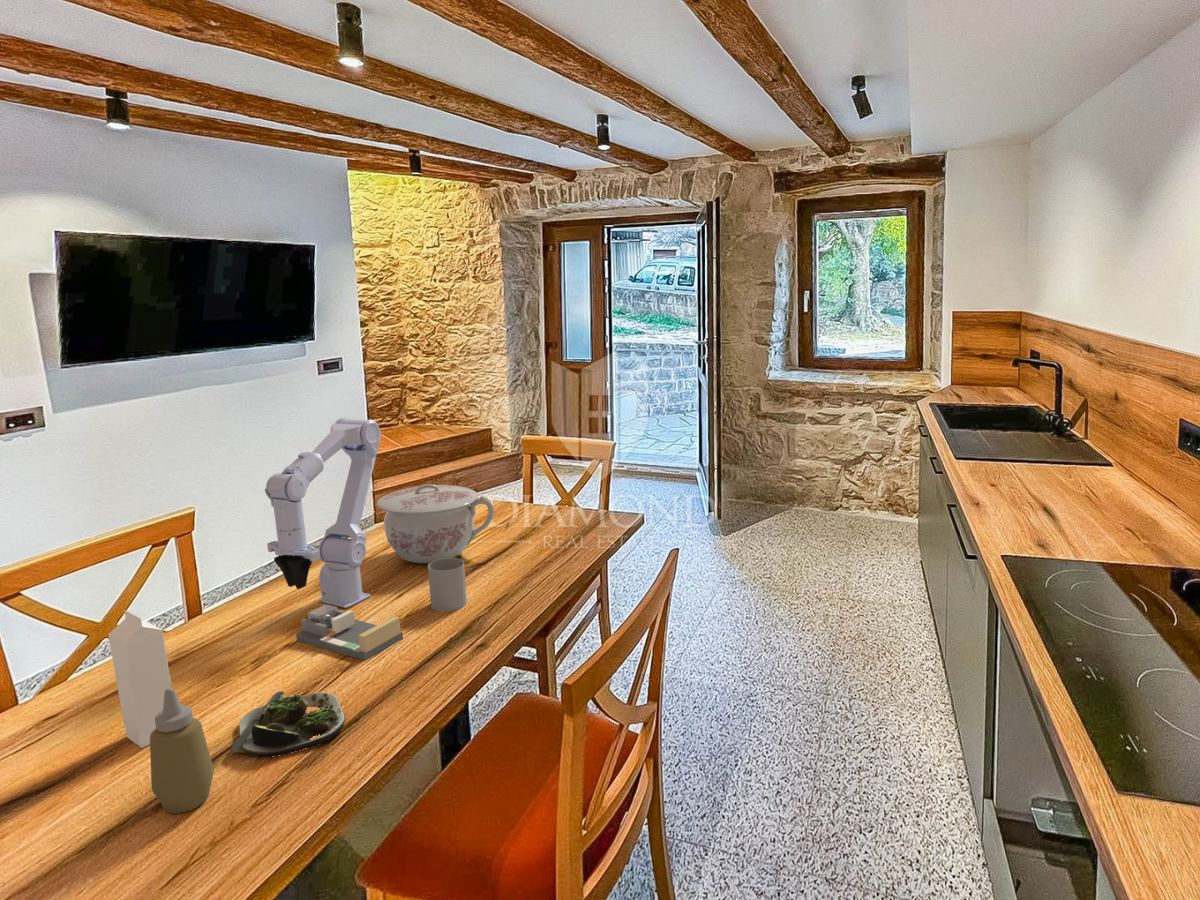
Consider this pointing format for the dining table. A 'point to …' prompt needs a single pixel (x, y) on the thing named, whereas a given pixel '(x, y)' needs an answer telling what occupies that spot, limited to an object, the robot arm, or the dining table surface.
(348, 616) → the cream thin slab
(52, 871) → the dining table surface
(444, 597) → the cup
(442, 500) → the chamber pot
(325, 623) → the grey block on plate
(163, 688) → the milk
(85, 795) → the dining table surface
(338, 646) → the gauge base
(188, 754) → the squeeze bottle
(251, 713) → the salad plate
